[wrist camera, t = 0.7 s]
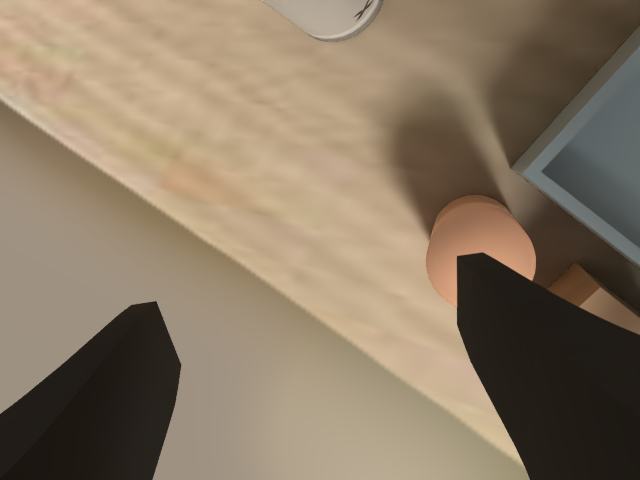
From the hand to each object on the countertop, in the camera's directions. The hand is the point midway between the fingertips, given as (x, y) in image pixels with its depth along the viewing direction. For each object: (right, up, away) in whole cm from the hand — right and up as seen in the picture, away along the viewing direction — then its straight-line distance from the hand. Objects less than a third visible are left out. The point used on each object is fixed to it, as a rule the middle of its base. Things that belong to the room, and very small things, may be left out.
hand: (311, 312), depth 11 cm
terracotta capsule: (+10, +2, +18) cm, 20 cm away
